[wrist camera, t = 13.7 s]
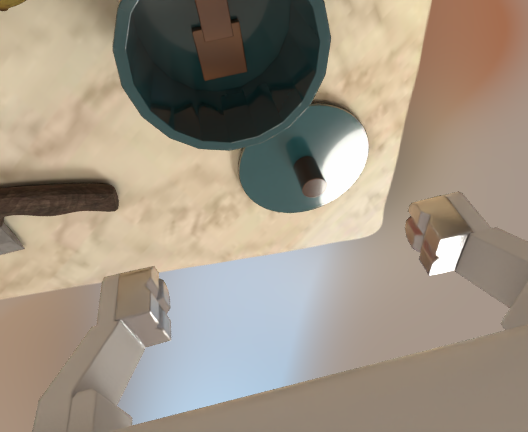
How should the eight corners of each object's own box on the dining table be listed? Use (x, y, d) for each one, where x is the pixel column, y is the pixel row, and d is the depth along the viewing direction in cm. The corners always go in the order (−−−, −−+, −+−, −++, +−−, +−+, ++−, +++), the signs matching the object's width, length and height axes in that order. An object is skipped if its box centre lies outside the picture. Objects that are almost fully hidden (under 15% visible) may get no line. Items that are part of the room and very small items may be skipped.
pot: (87, -70, 27) (66, -36, 21) (290, -113, 27) (330, -94, 21) (158, 110, 37) (158, 168, 31) (303, 76, 38) (332, 127, 31)
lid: (224, 119, 39) (231, 148, 36) (369, 85, 40) (389, 110, 36) (249, 218, 51) (256, 248, 47) (362, 191, 51) (377, 218, 48)
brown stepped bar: (172, -45, 28) (173, -32, 26) (225, -56, 28) (232, -44, 26) (203, 77, 35) (207, 96, 33) (246, 68, 35) (252, 86, 33)
